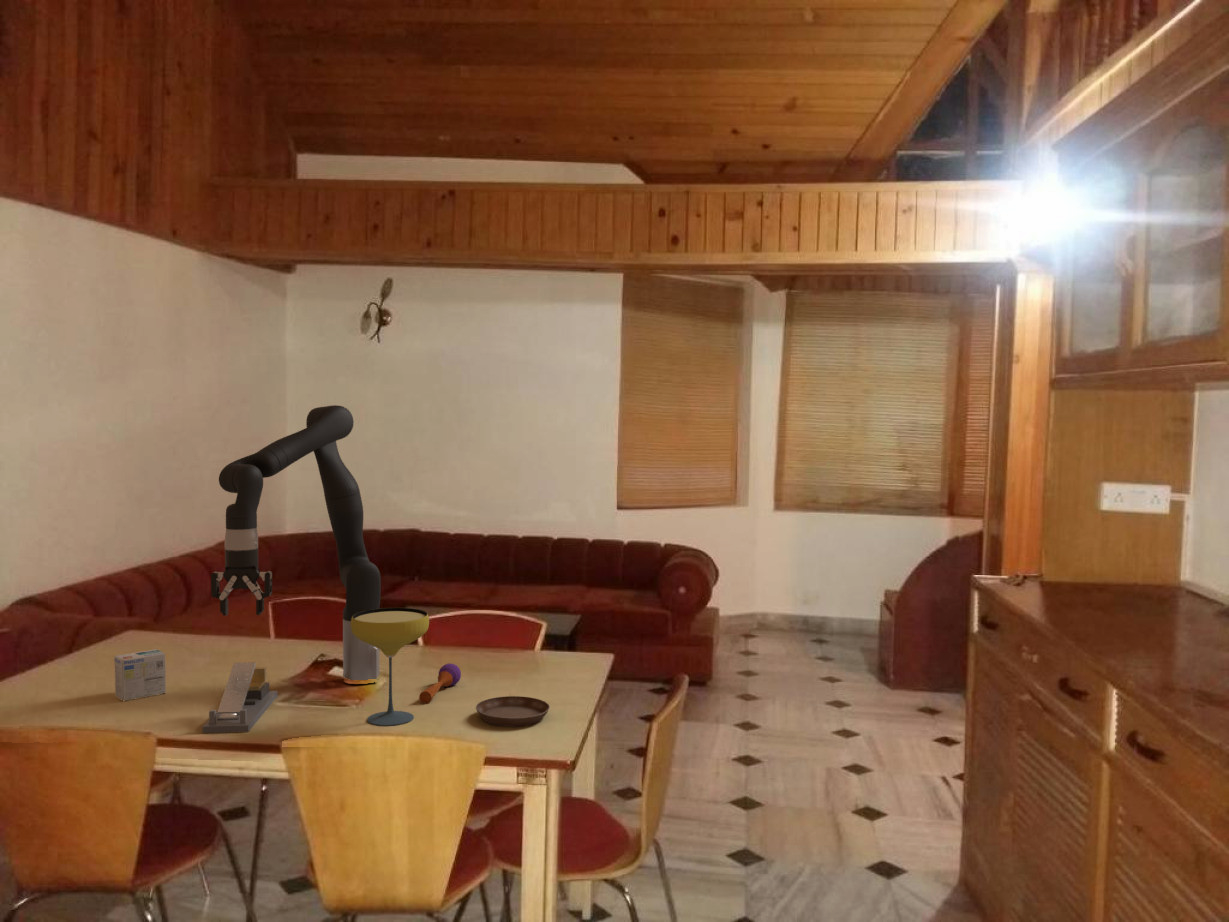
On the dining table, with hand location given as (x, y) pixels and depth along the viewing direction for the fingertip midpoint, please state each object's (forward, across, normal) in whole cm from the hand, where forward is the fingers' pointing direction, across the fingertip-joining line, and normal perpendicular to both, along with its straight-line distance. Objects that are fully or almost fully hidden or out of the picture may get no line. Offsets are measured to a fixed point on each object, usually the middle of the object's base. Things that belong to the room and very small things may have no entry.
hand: (242, 614), depth 234 cm
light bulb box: (+24, +30, -17) cm, 42 cm away
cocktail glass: (+24, -36, +8) cm, 44 cm away
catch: (+20, 0, -8) cm, 22 cm away
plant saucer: (+24, -65, +9) cm, 70 cm away
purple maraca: (+24, -46, -14) cm, 54 cm away
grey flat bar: (+18, 0, +6) cm, 19 cm away
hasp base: (+24, 0, +1) cm, 24 cm away
